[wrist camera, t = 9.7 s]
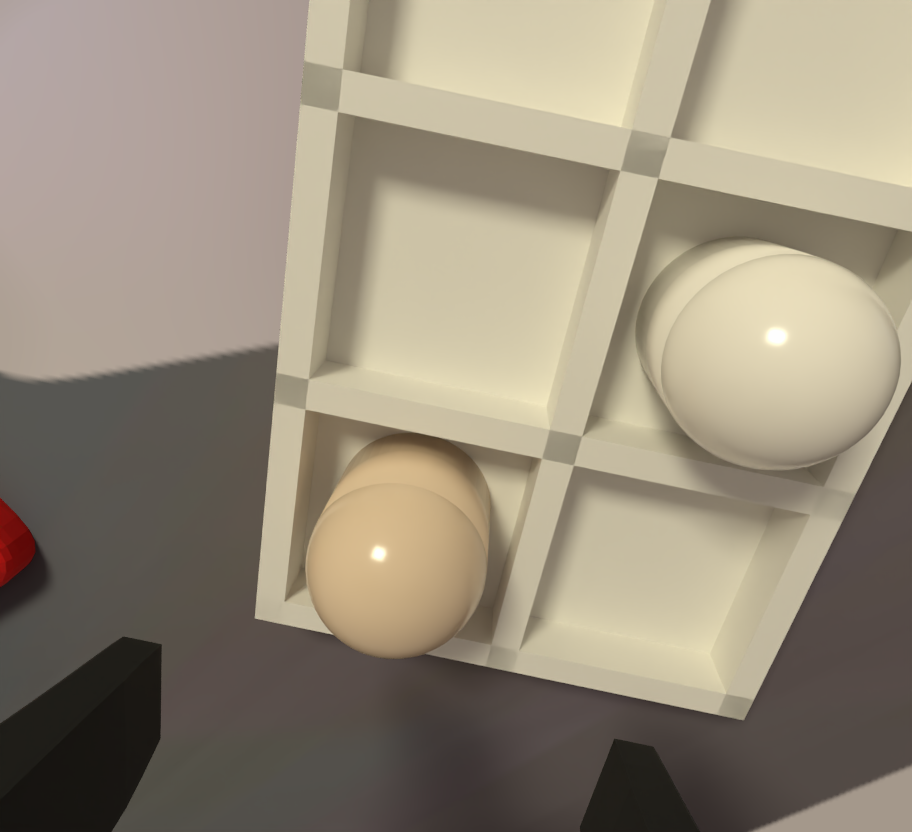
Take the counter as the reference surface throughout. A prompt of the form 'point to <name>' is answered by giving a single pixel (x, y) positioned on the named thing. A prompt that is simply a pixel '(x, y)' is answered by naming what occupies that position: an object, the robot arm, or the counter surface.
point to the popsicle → (13, 544)
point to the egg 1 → (401, 547)
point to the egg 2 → (767, 352)
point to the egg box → (579, 303)
